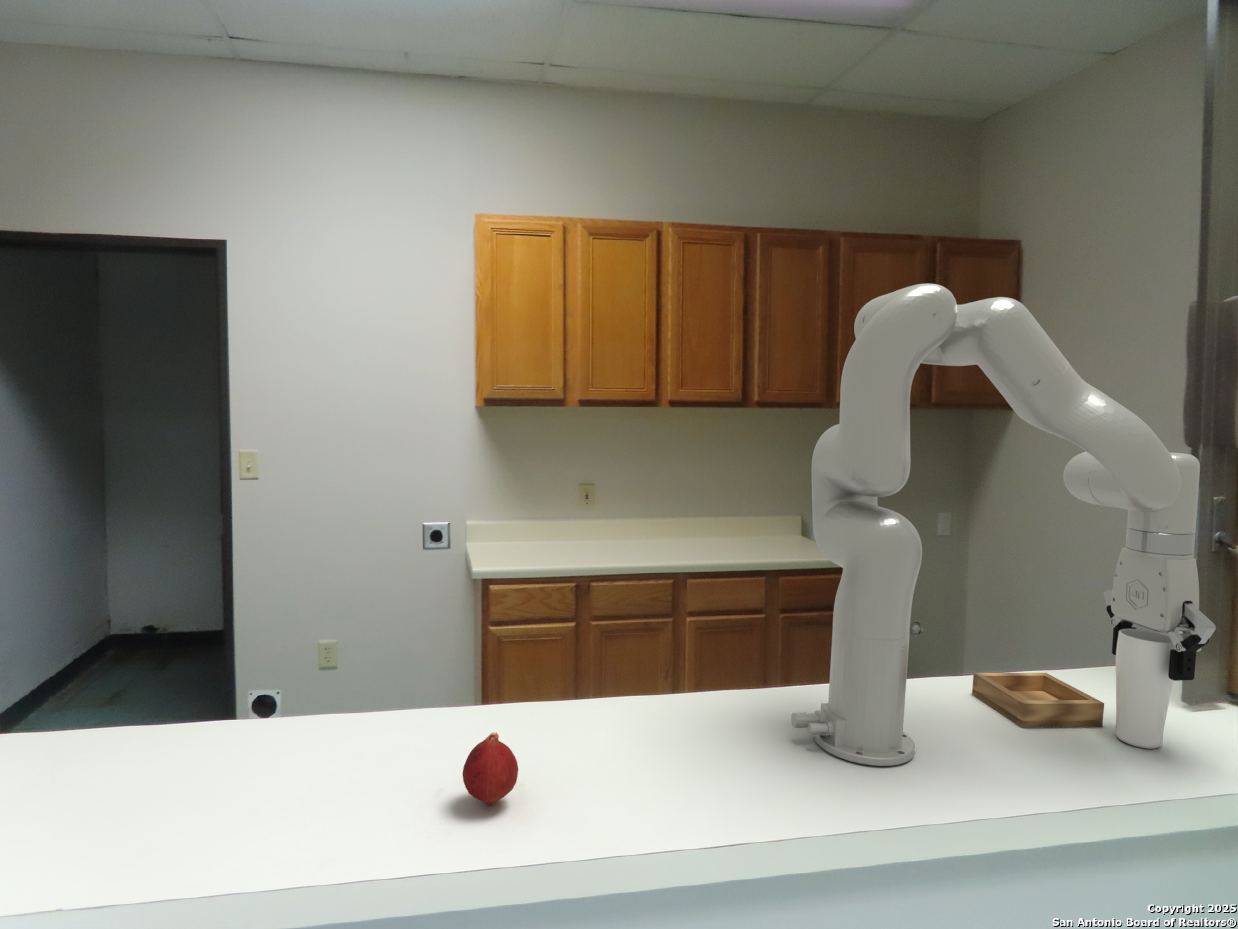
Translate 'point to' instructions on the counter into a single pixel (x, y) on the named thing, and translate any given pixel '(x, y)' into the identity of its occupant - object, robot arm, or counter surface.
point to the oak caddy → (1037, 700)
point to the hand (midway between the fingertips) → (1150, 666)
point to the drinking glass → (1142, 686)
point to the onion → (490, 770)
